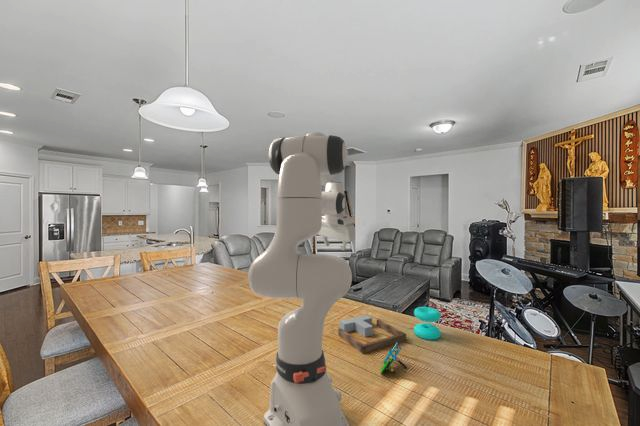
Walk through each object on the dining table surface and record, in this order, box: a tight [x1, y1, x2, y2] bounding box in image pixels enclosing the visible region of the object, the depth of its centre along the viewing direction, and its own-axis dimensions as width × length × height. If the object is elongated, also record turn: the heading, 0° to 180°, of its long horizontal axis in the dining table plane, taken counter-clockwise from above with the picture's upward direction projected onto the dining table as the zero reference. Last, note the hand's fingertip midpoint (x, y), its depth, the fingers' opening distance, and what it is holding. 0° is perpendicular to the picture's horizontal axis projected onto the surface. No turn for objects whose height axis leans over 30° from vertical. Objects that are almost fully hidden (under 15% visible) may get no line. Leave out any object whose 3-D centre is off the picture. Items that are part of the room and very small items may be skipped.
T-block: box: [338, 314, 374, 338], centre depth 115 cm, size 11×14×4 cm
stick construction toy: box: [379, 343, 408, 375], centre depth 88 cm, size 12×7×8 cm
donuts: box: [413, 306, 442, 341], centre depth 111 cm, size 10×10×10 cm
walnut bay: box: [337, 318, 407, 354], centre depth 109 cm, size 16×20×2 cm
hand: (334, 247), depth 127 cm, fingers open, 8 cm apart
